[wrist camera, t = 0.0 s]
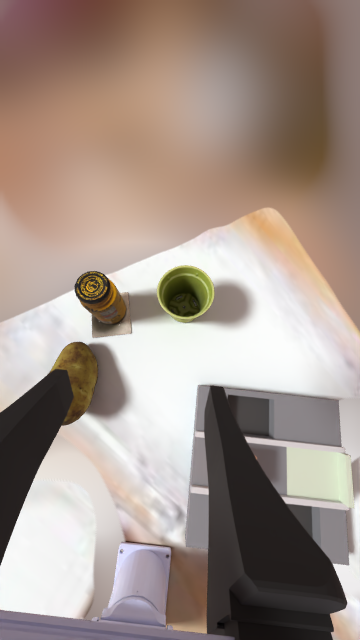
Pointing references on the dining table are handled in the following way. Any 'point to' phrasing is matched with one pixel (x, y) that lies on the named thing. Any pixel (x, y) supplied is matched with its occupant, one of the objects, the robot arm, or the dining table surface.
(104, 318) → the condiment
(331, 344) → the dining table surface
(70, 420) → the potato
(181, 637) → the robot arm
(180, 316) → the plant pot
